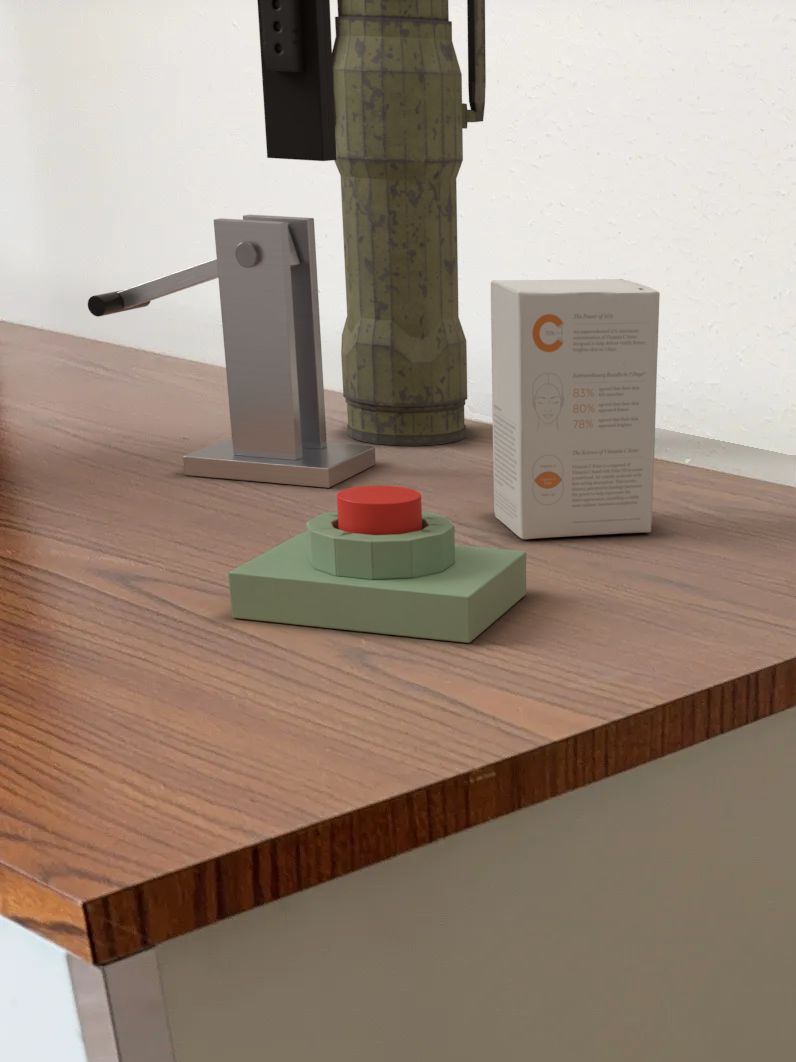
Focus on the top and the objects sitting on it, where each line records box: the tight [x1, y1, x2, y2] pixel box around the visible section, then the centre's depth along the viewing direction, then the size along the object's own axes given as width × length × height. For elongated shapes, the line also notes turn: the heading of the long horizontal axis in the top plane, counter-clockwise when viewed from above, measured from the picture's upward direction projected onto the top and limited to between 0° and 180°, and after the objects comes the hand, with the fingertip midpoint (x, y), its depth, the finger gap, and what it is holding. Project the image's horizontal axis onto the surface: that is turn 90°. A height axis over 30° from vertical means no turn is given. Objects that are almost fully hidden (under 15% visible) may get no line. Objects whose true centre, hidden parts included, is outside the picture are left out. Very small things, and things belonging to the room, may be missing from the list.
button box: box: [227, 510, 527, 644], centre depth 80 cm, size 12×9×4 cm
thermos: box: [332, 0, 487, 447], centre depth 111 cm, size 9×12×35 cm
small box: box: [490, 278, 660, 540], centre depth 94 cm, size 8×6×13 cm
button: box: [336, 485, 423, 535], centre depth 79 cm, size 4×4×2 cm
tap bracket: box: [182, 214, 377, 489], centre depth 105 cm, size 10×8×15 cm
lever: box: [87, 229, 300, 318], centre depth 103 cm, size 13×6×2 cm, turn 76°
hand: (302, 158), depth 74 cm, fingers closed
